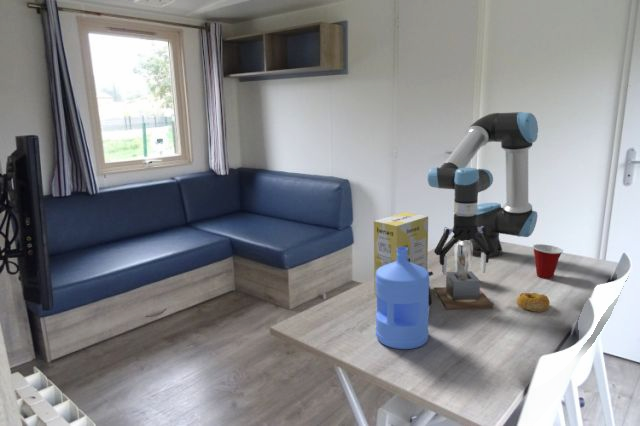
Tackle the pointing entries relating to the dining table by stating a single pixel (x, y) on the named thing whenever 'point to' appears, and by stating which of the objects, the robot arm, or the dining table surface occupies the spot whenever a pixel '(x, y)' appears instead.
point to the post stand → (462, 304)
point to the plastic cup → (546, 260)
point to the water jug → (402, 303)
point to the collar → (462, 286)
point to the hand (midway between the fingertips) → (463, 272)
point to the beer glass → (463, 255)
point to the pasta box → (400, 239)
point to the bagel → (533, 302)
